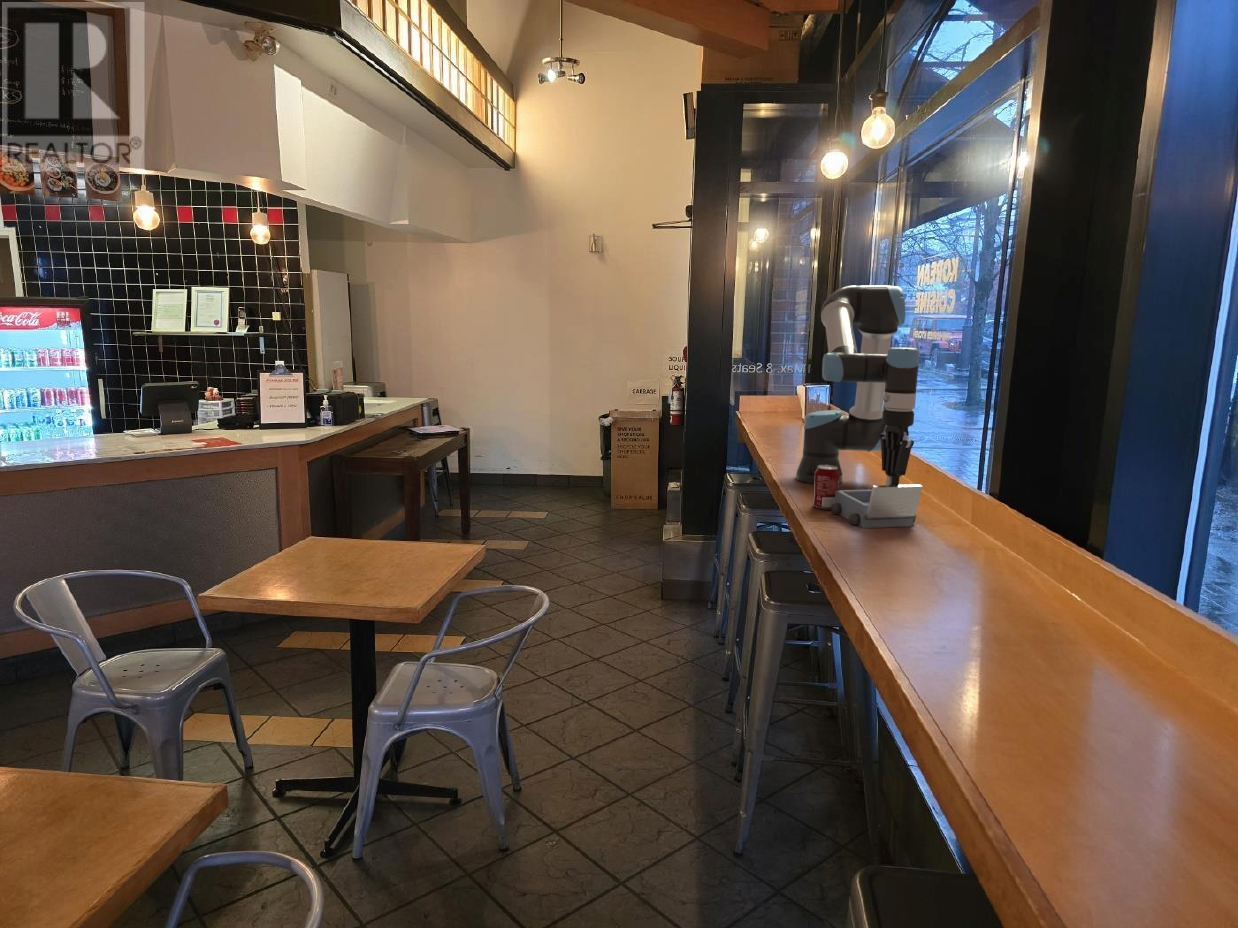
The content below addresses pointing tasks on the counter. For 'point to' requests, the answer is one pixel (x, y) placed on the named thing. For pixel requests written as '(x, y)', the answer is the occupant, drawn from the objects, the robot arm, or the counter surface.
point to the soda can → (825, 486)
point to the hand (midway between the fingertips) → (891, 500)
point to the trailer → (861, 510)
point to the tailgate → (893, 502)
